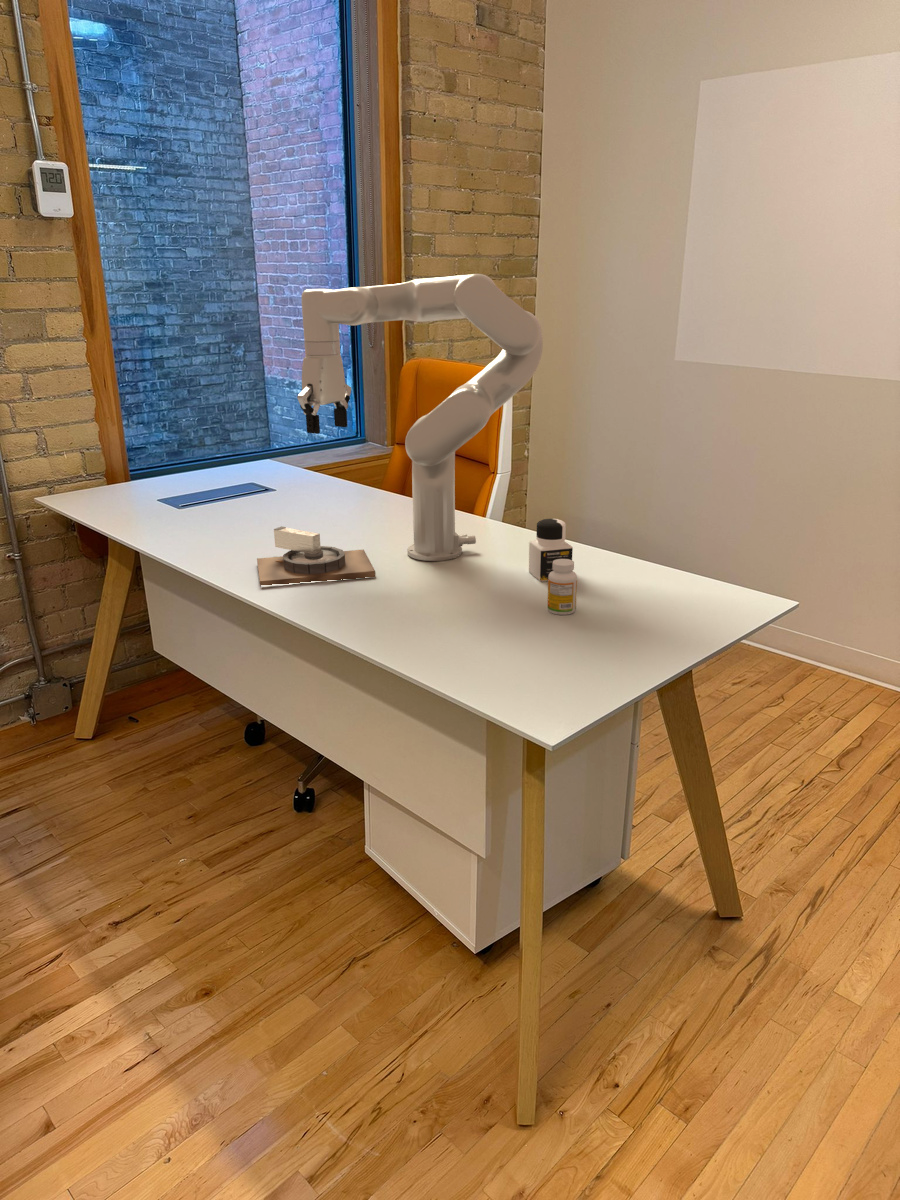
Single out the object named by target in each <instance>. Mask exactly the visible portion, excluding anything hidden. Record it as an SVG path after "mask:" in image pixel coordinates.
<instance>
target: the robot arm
mask: <svg viewBox="0 0 900 1200" xmlns="http://www.w3.org/2000/svg"><path fill="white" fill-rule="evenodd" d="M300 298H301V311H302V314H301V315H302V326H303V340H304V341H303V342H304V353H305V354H304V356H305V357H303V359H302V367H301V392H299V394H298V395H297V400H298V403H299V405H300V406H299V408H300V409H301V410H302V411H303V415H305V421H306V422H305V423H306V432H307V433H308V434H315V435H316V434H317V435H319V434H320V433H321V427H320V415H319V414H317V413H318V412H319V409H320V407H321V406H325V405H329V404H333V406H335V408H333V416H334V417H333V418H334V427H338V428H347V427H348V413H347V411H348V408H349V402H350V401H351V394H352V387H351V386H350V385H348V384H347V383H346V378H345V377H346V376H345V370H344V365H343V359H342V356H341V343H340V342H341V341H340V325H344V326H346V325H347V326H359V325H363V324H369V323H371V324H372V323H380V322H381V323H382V322H391V321H394V322H395V321H411V322H417V323H422V322H423V323H425V322H434V321H436V322H437V321H447V320H448V321H449V320H459V319H460V320H461V319H467V320H468V321H469V323H471V324H472V325H473V326H475V328H477V329H478V330H479V331H480V332H481V333H483V334H484V335H485V336H486V337H488V339H490V340H491V341H492V342H494V343H495V345H497V346H499V347H500V348H501V351H500V352H499V354H498V355H497V356H496V357H495V358H493V360H492V361H491V362H489V363H488V364H487V365H486V366H485V367H483V369H481V371H479V372H478V373H477V374H476V375H474V376H473V377H472V378H471V379H469V380H468V381H466V383H464V384H462V385H460V386H458V387H456V389H455V390H454V391H452V393H450V395H449V396H448V397H446V398H445V399H444V400H443V401H442V402H441V403H439V404H438V405H437V406H436V407H435V408H433V409H432V410H431V411H430V412H428V413H426V414H425V415H422V416H421V417H420V418H418V419H417V420H416V421H415V422H414V423H413V424H412V426H411V427H410V428H409V430H408V431H407V434H406V436H405V438H404V439H405V441H404V442H405V443H404V446H405V451H406V454H407V456H408V458H409V459H411V480H412V482H411V485H412V487H411V488H412V489H411V490H412V491H411V492H412V495H411V496H412V523H413V525H412V526H413V544H410V545H409V546H408V547H407V551H406V552H407V556H409V557H410V558H412V559H415V560H419V561H426V562H438V561H439V562H441V561H449V560H453V559H455V558H458V557H459V556H461V554H462V553H463V547H462V546H463V545H474V544H475V545H476V543H477V540H476V539H477V538H476V535H468V534H467V533H466V534H465V533H464V534H458V533H457V532H456V504H455V503H456V500H455V499H456V496H455V495H456V493H455V492H456V491H455V486H456V484H455V483H456V482H455V481H456V478H455V477H456V476H455V473H456V471H455V470H456V469H455V468H456V465H455V464H456V451H458V450H459V449H460V448H461V447H462V446H463V445H465V444H466V443H467V442H469V441H470V440H471V439H473V438H474V437H475V436H476V435H477V434H478V433H479V432H481V430H483V428H484V427H486V425H487V423H488V422H489V420H490V417H491V416H492V415H493V414H494V413H495V412H496V411H498V410H499V409H500V408H501V407H502V406H503V405H504V404H506V403H507V402H508V401H509V400H510V399H512V398H513V397H514V396H515V395H516V394H517V393H519V391H521V389H523V388H524V386H526V385H527V384H528V383H529V382H530V380H531V379H532V378H533V376H534V374H535V373H536V371H537V369H538V368H539V365H540V362H541V359H542V354H543V348H544V347H543V342H544V341H543V334H542V333H543V332H542V327H541V324H540V321H539V319H538V317H536V315H535V314H533V313H532V312H530V311H528V310H525V309H524V308H522V307H521V306H520V305H519V304H518V303H516V302H515V301H514V300H513V299H512V298H510V297H509V296H508V295H507V294H506V293H504V292H503V291H502V290H501V289H500V288H499V287H498V286H497V285H496V284H495V282H494V281H493V279H492V278H491V277H489V276H488V275H485V274H482V273H472V274H471V273H470V274H460V275H450V276H449V275H447V276H440V277H439V276H437V277H436V276H435V277H425V278H416V279H412V280H409V281H406V282H401V283H394V284H392V283H391V284H383V285H371V286H353V287H344V288H340V289H331V288H309V289H305V290H304V291H303V292H302V293H301V297H300ZM312 406H313V407H312Z"/></svg>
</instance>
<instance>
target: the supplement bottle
mask: <svg viewBox="0 0 900 1200" xmlns="http://www.w3.org/2000/svg"><path fill="white" fill-rule="evenodd" d="M552 567H553V568H552V569H553V570H554V571H552V572H550V573H549V576H548V581H547V610H548V612H549V613H551V614H553V615H559V616H567V615H571V614H573V613H575V612H576V610H577V591H578V575H577V573H576V572H575V571H574V570H575V562H574V560H573V559H572V560H569V559H556V560H554V561H553V565H552Z"/></svg>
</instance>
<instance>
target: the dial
mask: <svg viewBox="0 0 900 1200" xmlns="http://www.w3.org/2000/svg"><path fill="white" fill-rule="evenodd" d="M273 535H274V537H273V538H274V547H275V548H279V549H283V550H288V551H291V550H294V551H299V553H296V554H294V555H292V556H291V560H293V561H295V562H303V563H315V562H324V561H328V560H332V559H335V558H336V557H337V554H336V553H335V552H332V551H328V550H321V546H322V545H321V536H320V533H317V532H312V531H306V530H300V529H295V528H290V527H286V526H279V527H276V528H273Z"/></svg>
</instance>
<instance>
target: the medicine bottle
mask: <svg viewBox="0 0 900 1200" xmlns="http://www.w3.org/2000/svg"><path fill="white" fill-rule="evenodd" d="M566 528H567V524H566V522H565V521H563V520H561V519H559V518H545V519H544V518H543V519H541V520H539V521H538V522H537V523H536V539H532V540H529V543H528V544H529V545H528V572H529V573H530V574H531V575H532V576H533V577H535V578H536V579H537V581H539V582H541V583H542V582H548V576H549V573H550V572H552V571H554V570H553V569H552V568H553V567H552V565H553V561H554V560H556V559H569V560H572V561H573V549H574V548H573V546H572V545H571V544H569V543H568V542H566V532H567V531H566V530H567V529H566Z"/></svg>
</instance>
